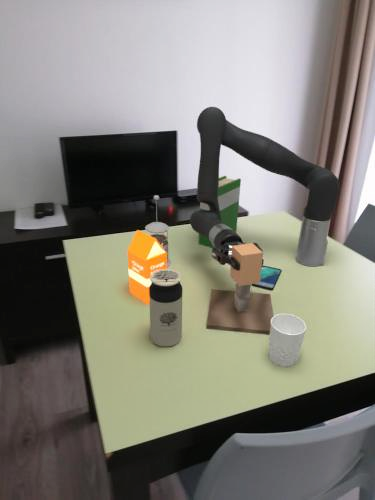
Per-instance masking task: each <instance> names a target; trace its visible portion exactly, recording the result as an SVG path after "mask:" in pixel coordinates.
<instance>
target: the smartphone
mask: <svg viewBox="0 0 375 500" xmlns="http://www.w3.org/2000/svg"><path fill="white" fill-rule="evenodd" d="M282 272H283V271H282V269H280V268H277V267H272V266H269V265H268V266H267V265H263V267H261V276H260V283H255V284H251V286H252V287H254V288H258V289H262V290H265V291H266V290H267V291H270V292H272V291H274V289H275V287H276V285H277V282H278V281H279V279H280V276H281V273H282Z"/></svg>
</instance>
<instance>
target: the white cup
mask: <svg viewBox="0 0 375 500" xmlns="http://www.w3.org/2000/svg"><path fill="white" fill-rule="evenodd" d="M306 330H307V324H306V323H305V321H304V320H303V319H301V318H300V317H298V316H297V315H295V314H291V313H277V314H275V315H273V317H272V319H271V324H270V335H269V336H268V353H267V355H268V357H269V360H270V361H271V362H272V363H273V364H275V365H277V366H279V367H283V368H288V367H292V366H294V365H295V364H296V363H297V362H298V357H299V354H300V352H301V348H302V345H303V341H304V339H305V338H304V337H305V333H306Z"/></svg>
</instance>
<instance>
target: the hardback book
mask: <svg viewBox="0 0 375 500" xmlns="http://www.w3.org/2000/svg"><path fill="white" fill-rule="evenodd" d="M241 181H242V179H241V178H236V179H232V178H228V177H227V175H224V176H221V177H220V176H219V185H218V203H219V209H220V213H221V218H222V222H223V223H224V224H225V225H227V226H228V227H230V228H231V229H232V230H233V231H234V232H235V233H236V234H237V228H238V217H239V206H240V205H239V203H240V195H241V194H240V193H241V192H240V191H241ZM199 203H200V205H199V210H210V209H209V206H208V205H207V204H205V203H201V202H199ZM198 245H201V246H205V247H208V248H210V249H213V248H215V247H214V246H213V245H212V243H211V241H210V240H209V239H208V238H207V237H205V236H203V235H201V234H199V233H198Z"/></svg>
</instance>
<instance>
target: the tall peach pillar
mask: <svg viewBox="0 0 375 500" xmlns="http://www.w3.org/2000/svg"><path fill="white" fill-rule="evenodd" d="M253 243H254V242H253ZM253 243H252V242H251V243H250V242H249V243H245V244H242V245H235V246H232V255H233V258H235V259H236V260H237V261H238V262H239V263H240V270H239V271H236V269H233V268H232V267H231V266H230V271H229V276H230V277H231V278H232V279H233V280H234V282H235V284H236V283H237V284H238V285H239V286H243V285H249V284H251V285H252V284H255V283H260V276H261V267H262V259H264V258H263V256H264V251H263V252H262V251H261V250H260V249H258V248H257V247H256V246H255V245H254V244H253Z"/></svg>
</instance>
